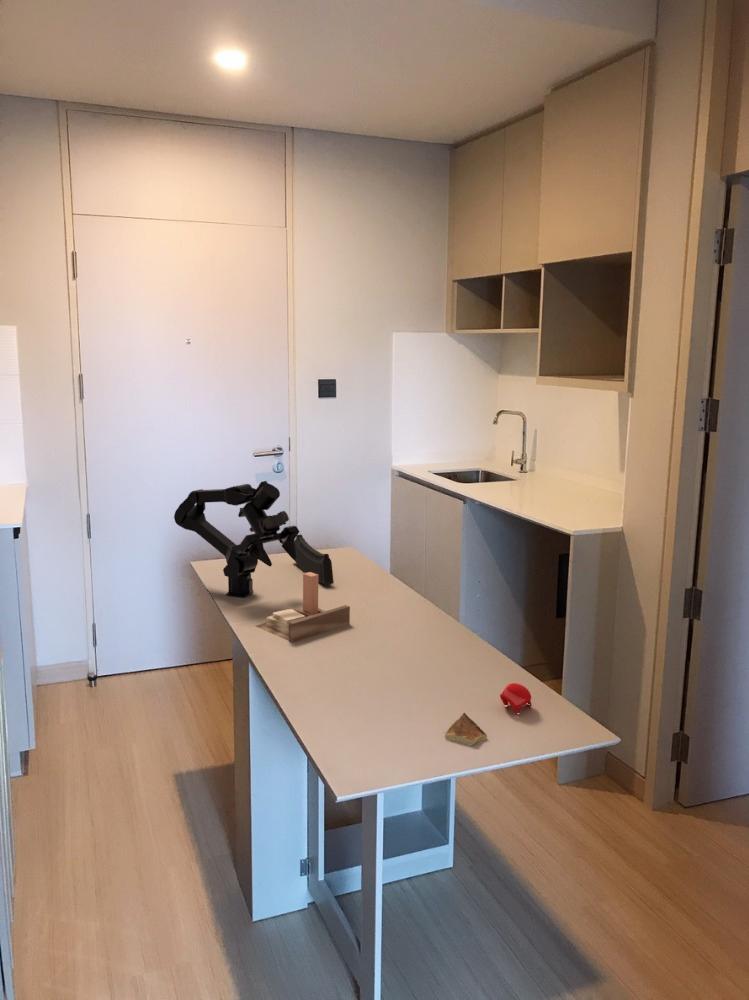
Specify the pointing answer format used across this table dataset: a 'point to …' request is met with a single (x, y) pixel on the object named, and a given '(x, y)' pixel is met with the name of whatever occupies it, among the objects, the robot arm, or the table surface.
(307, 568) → the magazine
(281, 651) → the table surface
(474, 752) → the table surface
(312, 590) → the block
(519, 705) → the red legged dome
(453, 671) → the table surface
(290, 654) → the table surface
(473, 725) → the shard
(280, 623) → the rack
